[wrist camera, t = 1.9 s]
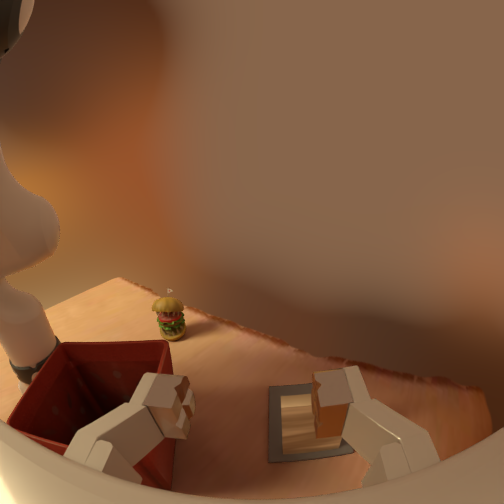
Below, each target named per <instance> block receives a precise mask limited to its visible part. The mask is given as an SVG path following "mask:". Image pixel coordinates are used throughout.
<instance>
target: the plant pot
mask: <svg viewBox="0 0 504 504" xmlns="http://www.w3.org/2000/svg"><path fill="white" fill-rule="evenodd" d="M147 372H149V373H157V374H159V373H160V374H170V375H173V367H172V360H171V354H170V348H169V343H168V341H166V340H146V341H119V342H63V343H61V344H59V345H58V346H57V347H56V349H55V350H54V351H53V353H52V354H51V355H50V357H49V358H48V359H47V361H46V362H45V363H44V365H43V366H42V368H41V369H40V371H39V372H38V373H37V375H36V376H35V378H34V379H33V381H32V382H31V384H30V385H29V387H28V388H27V390H26V391H25V393H24V394H23V396H22V397H21V399H20V400H19V402H18V403H17V405H16V407H15V408H14V410H13V411H12V413H11V415H10V416H9V418H8V420H7V424H8V425H9V426H11V427H12V428H14V429H15V430H17V431H18V432H20V433H22V434H23V435H25V436H27V437H28V438H30V439H32V440H33V441H35V442H37V443H39V444H40V445H42V446H44V447H46V448H48V449H50V450H52V451H54V452H56V453H58V454H60V455H62V456H63V455H64V453H65V452H66V450H67V448H68V446H69V444H70V443H71V441H72V439H73V438H74V436H75V434H76V432H77V431H78V430H80V429H81V428H83V427H85V426H87V425H89V424H90V423H92V422H94V421H95V420H97V419H99V418H101V417H102V416H104V415H106V414H107V413H109V412H111V411H112V410H114V409H116V408H117V407H119V406H120V405H122V404H124V403H129V402H130V400H131V398H132V396H133V394H134V392H135V390H136V388H137V386H138V384H139V382H140V381H141V379H142V377H143V375H144V374H145V373H147ZM175 442H176V438H168V437H164V439H163V440H162V441H161V442H160V443H159V444H158V445H157V446H156V447H154V448H153V449H152V450H151V451H150V452H149V453H148V454H147V455H146V456H144V457H143V458H142V459H141V460H140V461H139V462H138V463H136V464H135V465H134V466H133V468H134V469H135V471H136V472H137V473H138V474H139V475H140V476H141V477H142V482H141V485H145V486H149V487H154V488H158V489H163V490H168V491H170V490H171V484H172V472H173V461H174V451H175Z"/></svg>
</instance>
